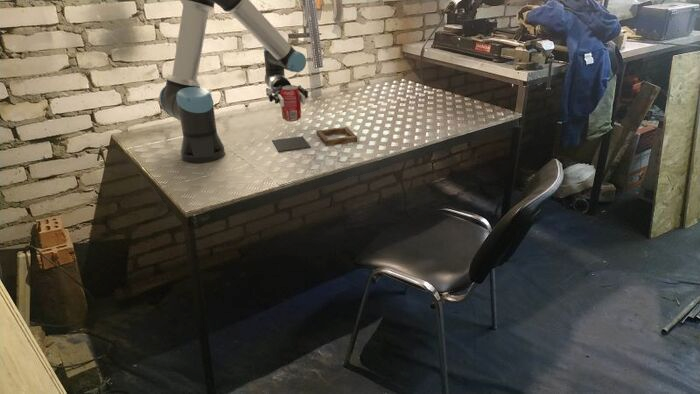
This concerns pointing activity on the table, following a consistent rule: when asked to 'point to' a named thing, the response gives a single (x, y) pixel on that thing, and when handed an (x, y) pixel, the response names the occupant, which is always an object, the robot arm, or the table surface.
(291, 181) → the table surface
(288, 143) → the mat
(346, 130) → the holder
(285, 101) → the soda can
